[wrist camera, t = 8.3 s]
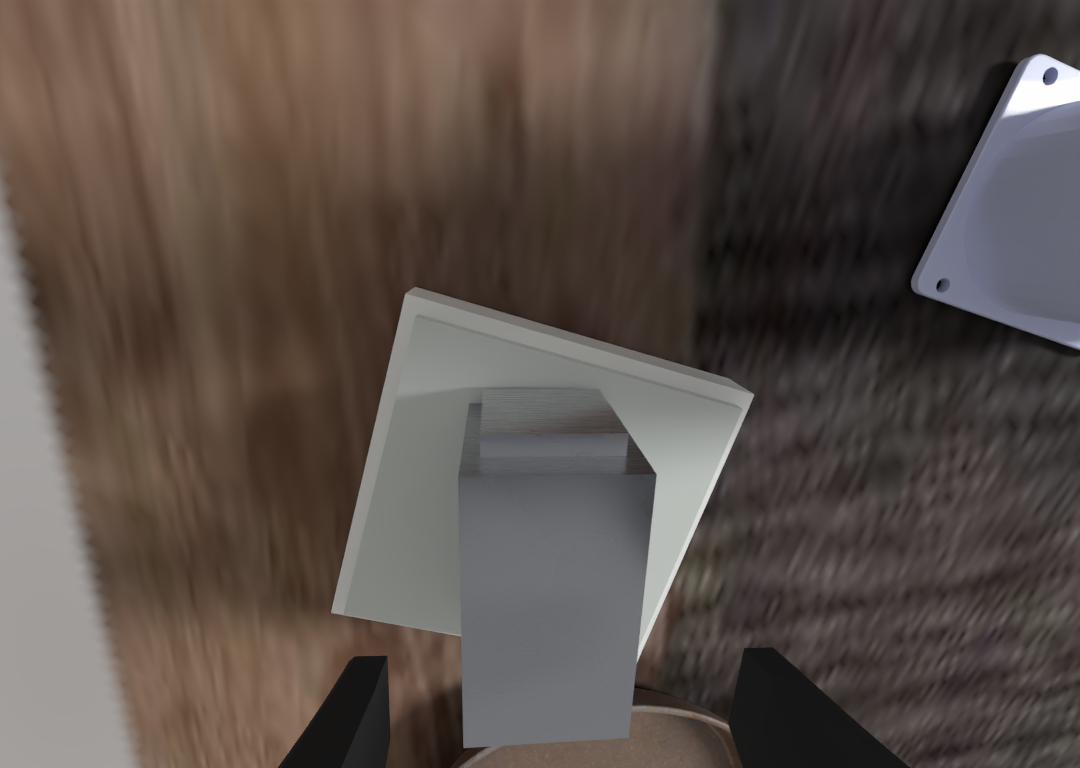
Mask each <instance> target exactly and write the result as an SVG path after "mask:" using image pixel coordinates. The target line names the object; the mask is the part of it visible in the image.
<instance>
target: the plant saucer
mask: <svg viewBox="0 0 1080 768" xmlns="http://www.w3.org/2000/svg"><path fill="white" fill-rule="evenodd" d="M450 768H743V766H742V764H741V761H740V758H739V755H738V752H737V749H736V746H735V743H734V740H733V737H732V734H731V731H730V728H729V725H728V722H727V721H726V720H724V719H722V718H721V717H719V716H717V715H716V714H714V713H712V712H710V711H708V710H706V709H704V708H702V707H700V706H698V705H695V704H693V703H691V702H688V701H685V700H682V699H679V698H676V697H673V696H670V695H666V694H663V693H659V692H655V691H651V690H645V689H639V688H634V693H633V702H632V712H631V721H630V730H629V738H619V739H603V740H587V741H571V742H555V743H538V744H522V745H506V746H490V747H474V748H468V749H467V750H466V751H465V752H464V753H463V754H462V755H461V756H460V757H459V758H458V759H457V760H456V761H455V762H454V763H453V765H452V766H451V767H450Z"/></svg>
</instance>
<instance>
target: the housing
mask: <svg viewBox="0 0 1080 768" xmlns="http://www.w3.org/2000/svg"><path fill="white" fill-rule="evenodd" d="M656 477H657V474H656V472H655V471H654V469H653V468H652V466H651V465H650V463H649V462H648V461H647V459H646V458H645V456H644V455H643V453H642V452H641V450H640V449H639V447H638V446H637V444H636V443H635V441H634V440H633V438H632V437H631V435H630V434H629V432H628V431H627V429H626V428H625V426H624V425H623V423H622V422H621V420H620V419H619V417H618V416H617V414H616V413H615V411H614V410H613V408H612V407H611V405H610V404H609V403H608V402H607V400H606V399H605V397H604V396H603V394H602V393H601V391H600V390H599V389H483V398H482V403H469V408H468V415H467V421H466V428H465V435H464V441H463V448H462V454H461V461H460V468H459V474H458V498H459V549H460V601H461V652H462V703H463V748H474V747H490V746H506V745H522V744H538V743H555V742H571V741H587V740H603V739H619V738H629V730H630V721H631V712H632V702H633V693H634V683H635V674H636V665H637V655H638V646H639V636H640V627H641V618H642V608H643V599H644V590H645V580H646V571H647V561H648V552H649V543H650V533H651V524H652V515H653V505H654V496H655V486H656Z"/></svg>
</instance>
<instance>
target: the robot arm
mask: <svg viewBox="0 0 1080 768" xmlns="http://www.w3.org/2000/svg"><path fill="white" fill-rule="evenodd" d="M1044 74H1045V81H1044V83H1043V79H1042V78H1043V75H1044ZM939 280H940V281H941V285H940V287H939V288H938V290H937V289H936V286H937V283H938V281H939ZM911 288H912V289H913V291H914V292H915V293H917V294H920V295H922V296H925V297H928V298H931V299H934V300H937V301H940V302H943V303H945V304H948V305H951V306H954V307H957V308H960V309H963V310H966V311H968V312H971V313H974V314H977V315H980V316H983V317H986V318H989V319H991V320H994V321H997V322H1000V323H1003V324H1006V325H1009V326H1012V327H1014V328H1017V329H1020V330H1023V331H1026V332H1029V333H1032V334H1034V335H1037V336H1040V337H1043V338H1046V339H1049V340H1052V341H1055V342H1057V343H1060V344H1063V345H1066V346H1069V347H1072V348H1075V349H1078V350H1080V71H1079V70H1077V69H1075V68H1073V67H1070V66H1068V65H1066V64H1064V63H1062V62H1060V61H1058V60H1055V59H1053V58H1051V57H1049V56H1047V55H1044V54H1037V55H1034V56H1031V57H1028V58H1025V59H1023V60H1022V61H1021V62H1020V63H1019V64H1018V65H1017V67H1016V68H1015V70H1014V72H1013V74H1012V76H1011V78H1010V80H1009V82H1008V84H1007V86H1006V88H1005V90H1004V92H1003V94H1002V96H1001V98H1000V100H999V103H998V105H997V107H996V109H995V111H994V113H993V115H992V117H991V119H990V121H989V123H988V125H987V127H986V129H985V131H984V133H983V135H982V137H981V139H980V141H979V143H978V145H977V147H976V149H975V151H974V153H973V155H972V157H971V159H970V161H969V163H968V165H967V167H966V169H965V171H964V173H963V175H962V177H961V179H960V181H959V183H958V185H957V188H956V190H955V192H954V194H953V196H952V198H951V200H950V202H949V204H948V206H947V208H946V210H945V212H944V214H943V216H942V218H941V220H940V222H939V224H938V226H937V228H936V230H935V232H934V234H933V236H932V238H931V240H930V242H929V244H928V246H927V248H926V250H925V252H924V254H923V256H922V258H921V260H920V262H919V264H918V266H917V268H916V270H915V273H914V275H913V277H912V280H911ZM728 725H729V728H730V731H731V734H732V737H733V740H734V743H735V746H736V749H737V752H738V755H739V758H740V761H741V764H742V766H743V768H910V767H909V766H907V765H906V764H905V763H904V762H903V761H901V760H900V759H899V758H898V757H897V756H895V755H894V754H893V753H892V752H891V751H889V750H888V749H887V748H886V747H885V746H884V745H882V744H881V743H880V742H879V741H878V740H877V739H875V738H874V737H873V736H872V735H871V734H870V733H869V732H867V731H866V730H865V729H864V728H863V727H862V726H861V725H859V724H858V723H857V722H856V721H855V720H854V719H853V718H851V717H850V716H849V715H848V714H847V713H846V712H845V711H844V710H842V709H841V708H840V707H839V706H838V705H837V704H836V703H835V702H834V701H832V700H831V699H830V698H829V697H828V696H827V695H826V694H825V693H823V692H822V691H821V690H820V689H819V688H818V687H817V686H816V685H815V684H813V683H812V682H811V681H810V680H809V679H808V678H807V677H806V676H805V675H803V674H802V673H801V672H800V671H799V670H798V669H797V668H796V667H794V666H793V665H792V664H791V663H790V662H789V661H788V660H787V659H785V658H784V657H783V656H782V655H781V654H780V653H778V652H777V651H776V650H775V649H774V648H744V653H743V657H742V662H741V667H740V671H739V676H738V681H737V685H736V690H735V694H734V699H733V704H732V708H731V713H730V718H729V722H728ZM389 741H390V716H389V689H388V661H387V656H357V657H354V658H353V659H351V660H350V661H349V662H348V664H347V666H346V667H345V669H344V671H343V672H342V674H341V676H340V677H339V679H338V681H337V682H336V684H335V685H334V687H333V689H332V690H331V692H330V693H329V695H328V696H327V698H326V699H325V701H324V702H323V704H322V706H321V707H320V709H319V710H318V711H317V713H316V714H315V716H314V717H313V719H312V720H311V722H310V723H309V725H308V726H307V728H306V729H305V731H304V732H303V733H302V735H301V736H300V738H299V739H298V740H297V742H296V743H295V745H294V746H293V747H292V749H291V750H290V752H289V753H288V754H287V756H286V757H285V759H284V760H283V761H282V763H281V764H280V766H279V767H278V768H385V766H386V760H387V754H388V747H389Z"/></svg>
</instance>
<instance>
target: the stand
mask: <svg viewBox="0 0 1080 768" xmlns="http://www.w3.org/2000/svg"><path fill="white" fill-rule="evenodd" d="M483 389H599V390H600V391H601V393H602V394H603V396H604V397H605V399H606V400H607V402H608V403H609V404H610V405H611V407H612V408H613V410H614V411H615V413H616V414H617V416H618V417H619V419H620V420H621V422H622V423H623V425H624V426H625V428H626V429H627V431H628V432H629V434H630V435H631V437H632V438H633V440H634V441H635V443H636V444H637V446H638V447H639V449H640V450H641V452H642V453H643V455H644V456H645V458H646V459H647V461H648V462H649V463H650V465H651V466H652V468H653V469H654V471H655V472H656V474H657V477H656V486H655V496H654V505H653V515H652V524H651V533H650V543H649V552H648V561H647V571H646V580H645V590H644V599H643V608H642V618H641V627H640V636H639V646H638V655H637V661H638V659H639V657H640V654H641V652H642V650H643V648H644V645H645V643H646V641H647V638H648V636H649V634H650V632H651V629H652V627H653V625H654V622H655V620H656V618H657V616H658V613H659V611H660V609H661V607H662V604H663V602H664V600H665V597H666V595H667V593H668V591H669V588H670V586H671V584H672V581H673V579H674V577H675V575H676V572H677V570H678V568H679V566H680V563H681V561H682V559H683V556H684V554H685V552H686V550H687V547H688V545H689V543H690V540H691V538H692V536H693V534H694V531H695V529H696V527H697V525H698V522H699V520H700V518H701V515H702V513H703V511H704V509H705V506H706V504H707V502H708V500H709V497H710V495H711V493H712V490H713V488H714V486H715V484H716V481H717V479H718V477H719V474H720V472H721V470H722V468H723V465H724V463H725V461H726V459H727V456H728V454H729V452H730V449H731V447H732V445H733V443H734V440H735V438H736V436H737V433H738V431H739V429H740V427H741V424H742V422H743V420H744V418H745V415H746V413H747V411H748V408H749V406H750V404H751V402H752V399H753V397H754V394H753V393H751V392H750V391H748V390H746V389H745V388H743V387H742V386H740V385H738V384H737V383H735V382H734V381H732V380H730V379H729V378H726V377H722V376H719V375H715V374H712V373H708V372H705V371H702V370H698V369H695V368H691V367H688V366H685V365H681V364H678V363H674V362H671V361H667V360H664V359H661V358H657V357H654V356H650V355H647V354H644V353H640V352H637V351H633V350H630V349H626V348H623V347H620V346H616V345H613V344H609V343H606V342H603V341H599V340H596V339H592V338H589V337H585V336H582V335H579V334H575V333H572V332H568V331H565V330H562V329H558V328H555V327H551V326H548V325H545V324H541V323H538V322H534V321H531V320H527V319H524V318H521V317H517V316H514V315H510V314H507V313H504V312H500V311H497V310H493V309H490V308H486V307H483V306H480V305H476V304H473V303H469V302H466V301H463V300H459V299H456V298H452V297H449V296H445V295H442V294H439V293H435V292H432V291H428V290H425V289H422V288H418V287H414V288H413V289H411V290H410V291H408V292H407V293H405V297H404V302H403V306H402V310H401V315H400V319H399V323H398V327H397V332H396V336H395V340H394V345H393V349H392V353H391V357H390V362H389V366H388V370H387V374H386V379H385V383H384V387H383V392H382V396H381V400H380V404H379V409H378V413H377V417H376V422H375V426H374V430H373V434H372V439H371V443H370V447H369V452H368V456H367V460H366V464H365V469H364V473H363V477H362V481H361V486H360V490H359V494H358V499H357V503H356V507H355V511H354V516H353V520H352V524H351V529H350V533H349V537H348V541H347V546H346V550H345V554H344V559H343V563H342V567H341V571H340V576H339V580H338V584H337V588H336V593H335V597H334V601H333V606H332V610H331V613H335V614H340V615H346V616H351V617H357V618H362V619H368V620H374V621H379V622H385V623H390V624H396V625H401V626H407V627H412V628H418V629H424V630H429V631H435V632H440V633H446V634H451V635H457V636H461V601H460V549H459V498H458V474H459V468H460V461H461V454H462V448H463V441H464V435H465V428H466V421H467V415H468V408H469V403H482V398H483Z"/></svg>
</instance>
